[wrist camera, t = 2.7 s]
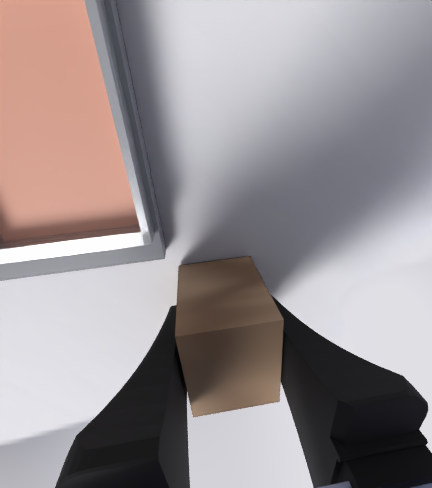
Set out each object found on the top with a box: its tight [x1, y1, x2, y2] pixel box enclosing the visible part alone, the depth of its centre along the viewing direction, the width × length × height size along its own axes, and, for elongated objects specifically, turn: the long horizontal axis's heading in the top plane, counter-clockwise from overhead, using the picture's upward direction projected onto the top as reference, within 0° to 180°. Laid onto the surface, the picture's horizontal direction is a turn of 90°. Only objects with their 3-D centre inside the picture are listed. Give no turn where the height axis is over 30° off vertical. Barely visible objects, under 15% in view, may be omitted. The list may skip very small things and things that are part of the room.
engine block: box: [175, 256, 284, 417], centre depth 12 cm, size 4×5×5 cm
